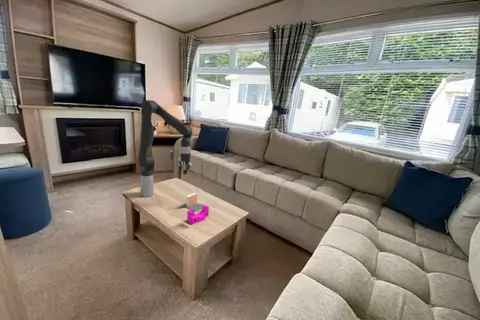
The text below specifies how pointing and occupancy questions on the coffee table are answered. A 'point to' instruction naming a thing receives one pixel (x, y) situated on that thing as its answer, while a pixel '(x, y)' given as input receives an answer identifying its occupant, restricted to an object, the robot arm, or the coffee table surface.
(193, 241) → the coffee table surface
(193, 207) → the mat
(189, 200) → the tile
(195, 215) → the magenta pipe clamp half
